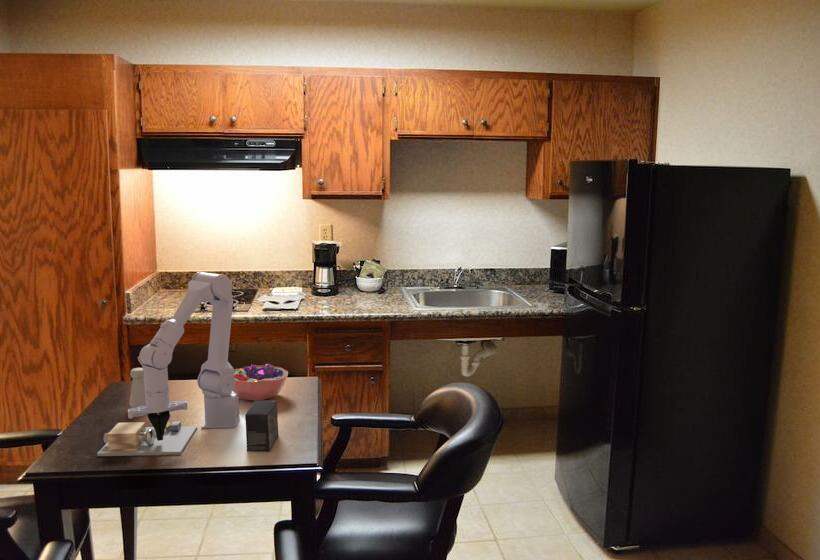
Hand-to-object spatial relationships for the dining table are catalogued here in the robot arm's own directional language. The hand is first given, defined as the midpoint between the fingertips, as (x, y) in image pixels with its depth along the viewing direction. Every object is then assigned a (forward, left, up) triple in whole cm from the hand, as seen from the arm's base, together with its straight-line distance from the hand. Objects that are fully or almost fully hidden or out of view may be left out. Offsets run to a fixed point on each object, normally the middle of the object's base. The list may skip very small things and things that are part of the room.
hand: (159, 439), depth 177 cm
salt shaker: (+14, -28, -2) cm, 32 cm away
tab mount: (-2, -10, -2) cm, 10 cm away
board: (+4, -4, -2) cm, 6 cm away
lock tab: (+4, -10, +2) cm, 10 cm away
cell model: (-20, -37, -2) cm, 42 cm away
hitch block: (+8, 0, -2) cm, 9 cm away
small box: (-27, -1, -2) cm, 27 cm away
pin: (+8, 0, -1) cm, 8 cm away
